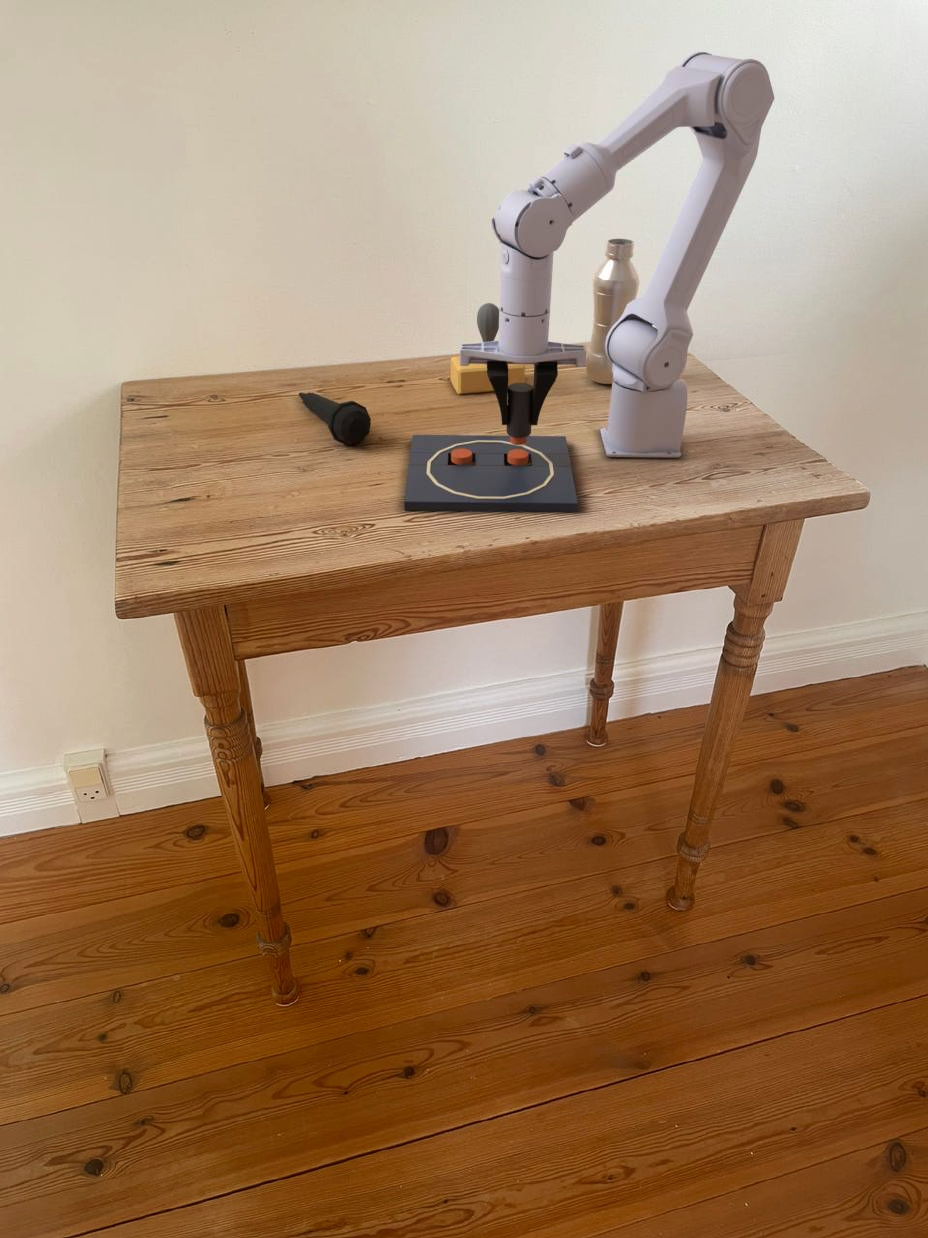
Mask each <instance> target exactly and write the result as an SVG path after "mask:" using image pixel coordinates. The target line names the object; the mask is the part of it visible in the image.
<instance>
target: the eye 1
mask: <svg viewBox="0 0 928 1238" xmlns="http://www.w3.org/2000/svg"><path fill="white" fill-rule="evenodd" d="M450 462H452V464H455V465H457V466H467V465H469V464H471V463H472V452H471V451H470V450H468V449H456V450H453V451H452V452H451V461H450Z"/></svg>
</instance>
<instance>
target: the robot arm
mask: <svg viewBox="0 0 928 1238" xmlns="http://www.w3.org/2000/svg"><path fill="white" fill-rule="evenodd" d="M774 101H775V94H774V91H773V86H772V82H771V79H770V74H769V72H768V70H767V68H766V66H765V65H764V64H763V63H762V62H761V61H759V60H758V59H753V58H745V59H742V58H741V59H740V58H735V57H730V56H729V57H728V56H721V55H714V54H712V53H708V52H706V51H697V52H693V53H690V54H689V55H688V56H687V57H686V58H684V59H683V60H682V61H681V63H680V64H679V65H676V66H675V67H673V68H671V69H670V70H669V71H667V72H666V74H665V75H664V78H663V81H662V82H661V84H660V85H659V86H658V87H657V88H656V89H655V90H654V91H653V92H652V93H650V95H648V96H647V98H645V99H644V100H643V101H642V102H641V103H640V104H639V105H638V106H637V107H636V108H635V109H634V110H632V112H630V113H629V115H627V116H626V117H625V118H624V119H623V120H622V121H621V122H620V123H618V125H617V126H615V127H614V128H613V129H612V130H611V131H610V132H609V133H608V134H606V135H605V137H604V138H603V139H602V140H601V141H599V142H598V143H597V144H595V143H592V142H587V141H586V142H585V141H584V142H581V143H579V144H578V145H577V144H572V143H571V144H570V145H568V147H566V148H565V149H564V150H563V155H564V157H563V158H561V159H560V160H559V161H557V163H555V164H554V165H552V166H551V168H549V169H548V170H547V171H546V172H545V173H543V174H542V175H540V177H538V176H534V177H533V178H532V179H531V180H530V181H529V182H528V185H529V186H528V187H527V190H525V189H520V190H514V191H511V192H510V193H508V194H507V195H506V196H505V197H504V198H503V199H502V200H501V202H500V203H499V207H498V208H497V209H496V213H495V217H492V218H491V227H492V231H493V234H494V236H495V238H496V239H497V240H498V241H499V243H500V269H499V270H500V275H499V277H500V278H499V304H498V305H499V307H498V309H499V330H498V340H494V341H491V342H483V341H482V342H473V343H460V344H459V356H460V366H468V365H469V364H487V375H488V378H489V381H490V383H491V385H492V387H493V389H494V391H493V392H494V394H495V396H496V400H497V403H498V407H499V410H500V416H501V425H502V426H507V425H508V407H507V405H508V364H524V365H533V406H532V418H531V426H538V422H539V417H540V413H541V410H542V408H543V405H544V402H545V400H546V398H547V396H548V394H549V392H550V391H551V389H552V388H553V386H554V384H555V383H556V381H557V378H558V375H559V370H558V366H559V365H561V366H574V365H575V367H576V368H586V359H587V353H588V350H587V347H586V345H585V344H570V343H563V342H555V341H549V334H550V333H549V332H550V318H551V303H552V301H551V299H552V284H553V271H554V254H555V253H554V252H556V251H558V250H559V249H560V247H561V246H562V244H563V242H564V240H565V238H566V236H567V231H568V229H569V228H570V227H572V225H573V223H574V222H575V221H576V220H578V219H579V218H580V217H581V216H582V215H584V214H585V213H587V211H588V210H590V209H591V208H592V207H594V206H595V205H596V204H597V203H598V202H599V201H601V200H602V199H603V198H604V197H605V196H607V195H608V194H609V193H610V192H612V191H613V189H614V187H615V183H616V177H617V174H618V173H617V172H619V171H620V170H621V169H623V168H624V167H625V166H627V165H628V164H629V163H631V162H632V161H633V160H635V159H636V158H637V157H639V156H640V155H641V154H643V153H644V152H646V151H647V150H648V149H649V148H651V147H652V146H654V145H656V144H657V143H658V142H660V141H661V140H662V139H663V138H665V137H666V136H667V135H669V134H670V133H671V132H673V131H674V130H675V129H678V128H689V130H690V131H691V132H692V133H693V135H694V136H695V138H696V141H697V144H698V147H699V150H700V153H701V156H702V159H701V162H700V165H699V167H698V169H697V171H696V174H695V175H694V178H693V181H692V183H691V185H690V187H689V190H688V193H687V195H686V197H685V199H684V202H683V204H682V207H681V209H680V211H679V213H678V216H677V218H676V220H675V222H674V224H673V227H672V230H671V232H670V234H669V236H668V239H667V241H666V243H665V245H664V248H663V250H662V253H661V255H660V257H659V259H658V261H657V264H656V266H655V269H654V271H653V273H652V276H651V278H650V280H649V283H648V285H647V287H646V289H645V292H644V293H643V294H642V295H640V296H639V297H638V296H637V297H636V299H635V300H633V301H631V302H630V303H628V304H627V306H626V308H625V310H624V312H623V314H622V316H621V317H620V319H619V320H618V321H617V322H616V323H615V324H614V325H613V326H612V328H611V329H610V331H609V332H608V335H607V337H606V341H605V352H606V355H607V357H608V359H609V360H610V361H611V362H612V363H613V364H612V372H613V381H612V384H611V392H610V400H609V401H610V402H609V411H608V421H607V427H602V428H600V430H599V432H600V436H601V440H602V443H603V448H604V451H605V455H606V456H607V457H609V458H671V459H672V458H673V459H675V458H677V459H678V458H680V457H682V453H681V447H682V441H683V435H684V428H685V422H686V416H687V409H688V387H687V386H688V385H687V383H686V381H685V380H684V379H679V378H680V377H681V376H682V374H683V372H684V370H685V369H686V365H687V361H688V351H689V346H690V344H691V341H692V339H693V338H694V337H693V336H694V331H693V328H692V324H691V321H690V318H689V314H688V309H689V307H690V306H691V303H692V300H693V298H694V296H695V294H696V293H697V292H696V291H697V290H698V287H699V285H700V284H701V282H702V278H703V276H704V274H705V272H706V270H707V268H708V265H709V263H710V261H711V259H712V256H713V255H714V252H715V250H716V248H717V246H718V244H719V241H720V240H721V237H722V235H723V233H724V231H725V228H726V226H727V224H728V221H729V219H730V218H731V215H732V213H733V210H734V208H735V207H736V204H737V202H738V201H739V197H740V195H741V193H742V191H743V188H744V186H745V184H746V182H747V180H748V177H749V176H750V174H751V171H752V169H753V167H754V164H755V163H756V162H755V161H756V159H757V157H758V153H759V145H760V141H761V133H762V127H763V126H764V125H763V124H764V123H765V120H766V119H767V116H768V114H769V112H770V110H771V108H772V105H773V103H774Z"/></svg>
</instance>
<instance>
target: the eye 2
mask: <svg viewBox="0 0 928 1238" xmlns="http://www.w3.org/2000/svg"><path fill="white" fill-rule="evenodd" d="M528 458H529V453H528V452H527V451H525V450H522V449H514V450H510V451H509V452H508V459H507V461H508V462H507V463H508V464H510V465H511V466H526V465H527V464H528V463H529V462H528Z"/></svg>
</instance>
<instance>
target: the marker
mask: <svg viewBox="0 0 928 1238" xmlns="http://www.w3.org/2000/svg"><path fill="white" fill-rule="evenodd" d="M533 388H534V385H532V384H530V383H526V382H524V383H513V384H511V385H509V387H508V395H507V407H508V425H506V434H507V436H510V442H511V443H512V444H515V445H523V444H525V443H526V441H527V436H531V434H532V425H531V418H532V406H533Z"/></svg>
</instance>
